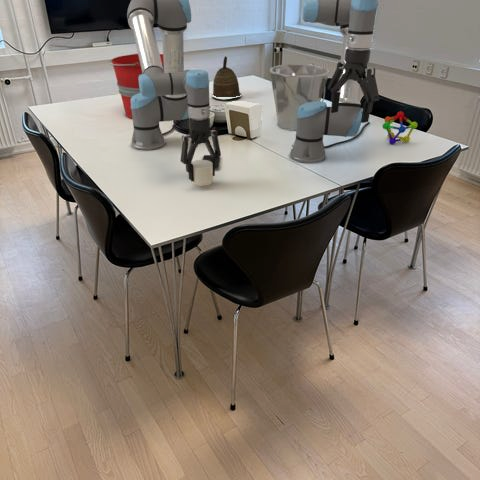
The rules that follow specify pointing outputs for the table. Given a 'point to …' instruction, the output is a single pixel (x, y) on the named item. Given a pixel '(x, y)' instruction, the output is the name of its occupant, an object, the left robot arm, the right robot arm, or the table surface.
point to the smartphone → (206, 157)
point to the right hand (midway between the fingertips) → (348, 117)
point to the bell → (225, 82)
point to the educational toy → (398, 128)
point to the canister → (202, 172)
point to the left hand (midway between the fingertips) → (201, 177)
